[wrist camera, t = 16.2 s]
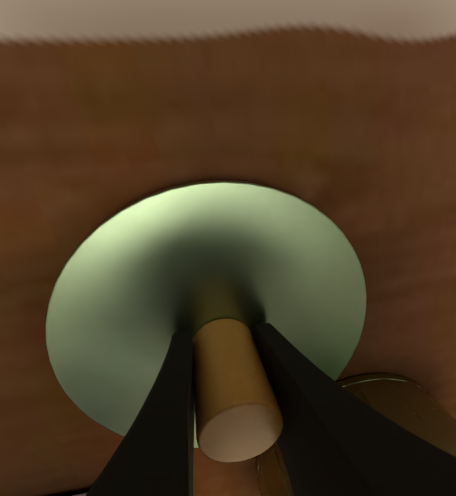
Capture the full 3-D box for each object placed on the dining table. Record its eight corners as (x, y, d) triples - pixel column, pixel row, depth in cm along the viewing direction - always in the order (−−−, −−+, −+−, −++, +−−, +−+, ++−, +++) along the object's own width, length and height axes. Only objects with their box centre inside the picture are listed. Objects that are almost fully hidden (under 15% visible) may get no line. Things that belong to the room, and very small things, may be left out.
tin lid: (90, 443, 12) (43, 598, 8) (17, 178, 8) (-178, 213, 4) (328, 405, 14) (389, 512, 10) (378, 176, 10) (527, 198, 6)
